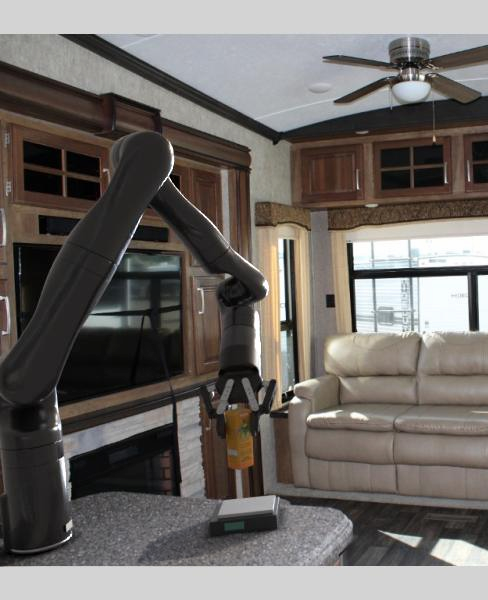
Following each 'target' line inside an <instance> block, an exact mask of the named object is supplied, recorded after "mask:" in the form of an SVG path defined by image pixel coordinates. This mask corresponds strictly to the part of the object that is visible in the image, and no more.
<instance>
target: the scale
mask: <svg viewBox="0 0 488 600" xmlns="http://www.w3.org/2000/svg"><path fill="white" fill-rule="evenodd" d="M280 503H281V502H280V497H279V496H276V495H275V494H271V495H261V496H253V497H252V496H251V497H243V498H233V499H224V500H223V501H222V502H219V503H216V505H215V507H214V510H213V513H212V515H211V518H210V520H209V532H210V535H209V536H210V537H214V536H215V537H216V536H224V535H232V534H241V533H250V532H259V531H270V530H277V529H278V527H279V520H280V513H281V505H280Z"/></svg>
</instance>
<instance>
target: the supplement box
mask: <svg viewBox="0 0 488 600" xmlns="http://www.w3.org/2000/svg"><path fill="white" fill-rule="evenodd" d="M250 412H252V411H251V409H250V408H244V407H236V408H233V409H230V410H229V411H225V426H226V439H225V440H226V455H227V467H228V469H229V468H230V469H232V470H238V471H242V470H244V469H247V468H250V467H252V466H254V464H255V463H254V447H253V436H251V432H250Z"/></svg>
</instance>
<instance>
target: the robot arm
mask: <svg viewBox="0 0 488 600" xmlns="http://www.w3.org/2000/svg"><path fill="white" fill-rule="evenodd" d="M109 162H110V166H111V168H112V170H113V174H112V177H111V178H110V181H109V183H108V185H107V187H106V188H105V190H104V191H103V193H102V195H101V196H100V197H99V198H98V200H96V202H95V203H94V204H93V205H92V207H90V208H89V210H88V211H87V212H86V213H85V214H84V215H83V217H82V218H81V219H80V220H79V221H78V223H76V225H75V226H74V227H73V229H72V230H71V231H70V232H69V234H68V236H67V237H66V239H65V241H64V243H63V244H62V246H61V248H60V250H59V252H58V253H57V256H56V257H55V258H54V261H53V263H52V265H51V268H50V270H49V272H48V274H47V277H46V279H45V282H44V285H43V287H42V291H41V293H40V297H39V300H38V303H37V306H36V309H35V311H34V313H33V315H32V317H31V319H30V321H29V323H28V324H27V325H26V327H25V329H24V331H23V332H22V333H21V335H20V337H19V338H18V340H17V341H16V343H15V344H14V346H13V347H12V348H10V349H9V350H7V351H5V352H4V353H2V354H1V355H0V459H1V460H0V461H1V471H2V482H3V493H2V494H0V519H1V520H0V521H1V522H0V540H1V539H2V540H3V550H4V551H3V552H4V554H14V555H34V554H40V553H44V552H48V551H51V550H54V549H56V548H59V547H61V546H63V545H66V543H68V542H69V541H71V539H73V531H72V528H73V519H71V513H70V502H69V492H68V490H69V489H68V481H67V470H66V458H65V449H64V448H65V447H64V438H63V426H62V421H61V416H60V412H59V405H58V395H57V386H58V383H59V381H60V378H61V376H62V373H63V370H64V367H65V365H66V362H67V360H68V358H69V355H70V352H71V350H72V348H73V346H74V344H75V341H76V339H77V337H78V335H79V333H80V331H81V329H82V328H83V326H84V325H85V323H86V322H87V320H88V319H89V317H90V316H91V314H92V312H93V311H94V309H95V308H96V306H97V304H98V302H99V301H100V299H101V298H102V296H103V294H104V292H105V291H106V289H107V287H108V286H109V284H110V282H111V280H112V279H113V276H114V275H115V273H116V271H117V269H118V267H119V265H120V263H121V261H122V258H123V256H124V254H125V253H126V250H127V249H128V247H129V245H130V242H131V240H132V238H133V237H134V234H135V232H136V230H137V228H138V226H139V224H140V221H141V220H142V217H143V215H144V214H145V211H146V210H147V208H148V207H150V208H151V209H152V210H153V211H154V212H155V213H156V215H158V217H160V219H161V220H162V221H163V222H164V224H165V225H166V226H167V227H168V228H169V229H170V230H171V231H172V232H173V234H174V235H175V236H176V237H177V239H178V240H179V241H180V243H181V244H182V245H183V246H184V247H185V249H186V250H187V251H188V253H189V254H190V255H191V256H192V258H193V259H194V260H195V261H196V263H197V264H198V265H199V267H200V268H201V269H202V270H203V272H204V273H205V274H206V275H208V276H218V275H226V274H227V275H229V276H228V277H227V278H225V279H223V280H221V281H220V282H219V283H218V284H217V285H216V288H215V290H214V298H215V301H216V305H217V307H218V311H219V314H220V319H221V336H220V342H219V349H218V350H219V351H218V352H219V353H218V354H219V355H218V370H217V373H218V374H217V379H216V380H215V382H214V384H212V385H208V386H207V385H206V384H201V385H200V386H199V391H200V394H201V399H202V401H203V405H204V408H205V411H206V415H207V418H208V420H216V422H215V431H216V434H217V437H220V439H221V440H226V426H225V411H229V410H232V406H233V405H237V404H248V407H249V410H250V411H251V412H250V432H251V436H252V437H256V436H257V434H259V433H260V431H261V416H262V415H269V414H271V411H272V408H273V405H274V402H275V400H276V396H277V393H278V390H279V389H278V381H277V379H275V378H271V379H270V380H264V379H263V377H262V376H261V374H262V373H261V369H262V367H261V364H262V363H261V361H262V360H261V356H262V350H261V340H260V317H259V313H258V311H257V310H256V309H255V308H254V307H252V305H255V304H257V303H259V302H261V301H263V300H264V299H266V298H267V296H268V293H269V284H268V281H267V279H266V277H265V276H264V274H263V273H262V272H261V270H259V269H258V268H257V267H255V266H254V265H253V264H251V263H250V262H249V261H248V260H246V259H245V257H243V256H241V255H240V254H239V253H238V252H236V250H234V248H232V246H231V245H230V244H229V242H228V240H227V239H226V238H225V236H224V235H223V234H222V233H221V232H220V230H219V229H218V227H217V226H216V225H215V224H214V223H213V221H212V220H210V219H209V218H208V217H207V216H206V215H205V214H204V213H203V212H202V211H201V210H200V209H198V208H197V207H196V206H195V205H194V204H193V203H191V202H190V201H189V200H188V199H187V198H186V197H185V196H184V194H182V193H181V191H180V190H179V189H178V188H177V187H176V186H175V184H174V183H173V182H172V180H171V178H170V174H171V172H172V171H173V167H174V163H175V152H174V149H173V145H172V143H171V142H170V140H168V138H167V137H166V136H165V135H163V134H161V133H159V132H157V131H153V130H139V131H136V132H132V133H129V134H127V135H124V136H121V137H120V138H118V139H117V140H116V141H115V142H114V143H113V144H112V146H111V148H110V151H109ZM263 389H264V393H265V394H264V397H263V400H262V403H261V404H258V401H257V399H256V396H257V395H258V394H259V392H260V391H262V390H263ZM215 393H218V395H219V396H220V398H219V404H218V406H217V408H214V406H213V404H212V400H213V398H214V397H215Z"/></svg>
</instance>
